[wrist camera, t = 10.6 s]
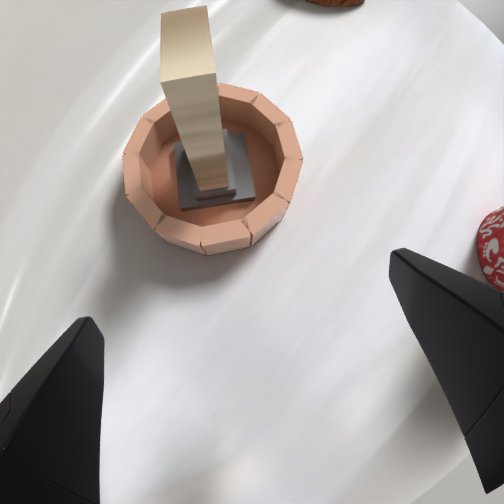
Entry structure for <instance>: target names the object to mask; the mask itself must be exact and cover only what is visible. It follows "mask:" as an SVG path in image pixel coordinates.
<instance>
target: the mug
mask: <svg viewBox="0 0 504 504" xmlns="http://www.w3.org/2000/svg"><path fill="white" fill-rule="evenodd" d="M478 256H479V260H480V264H481V267H482V270H483V272H484V274H485V276H486V278H487V280H488V281H489V282H490V283H491V284H492V285H493V286H494V287H495V288H496V289H498V290H500V291H504V206H503V207H501V208H499V209H498V210H496V211H494V212H492V213H490V214H489V215H488V216H486V217H485V219H484V220H483V222H482V224H481V226H480V229H479V233H478Z"/></svg>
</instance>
